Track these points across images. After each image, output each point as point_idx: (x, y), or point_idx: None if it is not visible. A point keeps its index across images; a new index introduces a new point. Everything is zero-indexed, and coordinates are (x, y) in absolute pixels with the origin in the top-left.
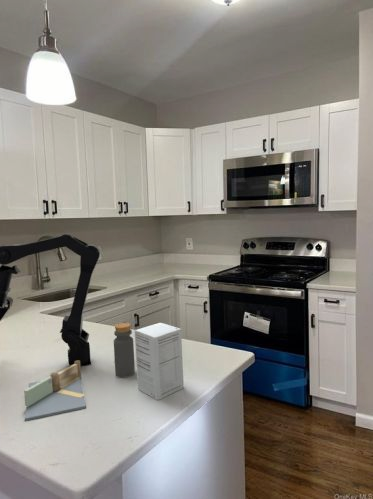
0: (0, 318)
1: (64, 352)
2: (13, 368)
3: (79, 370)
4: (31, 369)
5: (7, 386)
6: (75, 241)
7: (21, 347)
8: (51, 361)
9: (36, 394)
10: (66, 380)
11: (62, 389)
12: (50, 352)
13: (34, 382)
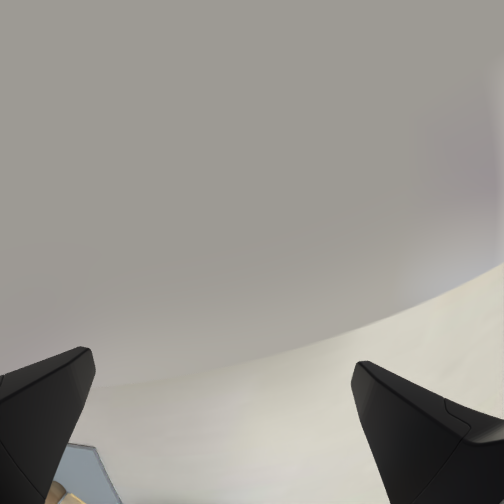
0: (385, 476)
1: (340, 499)
2: (246, 393)
3: None
4: (215, 450)
5: (93, 395)
6: None
7: (452, 346)
8: (271, 489)
9: None
10: None
11: (63, 497)
12: (362, 465)
13: (95, 461)
